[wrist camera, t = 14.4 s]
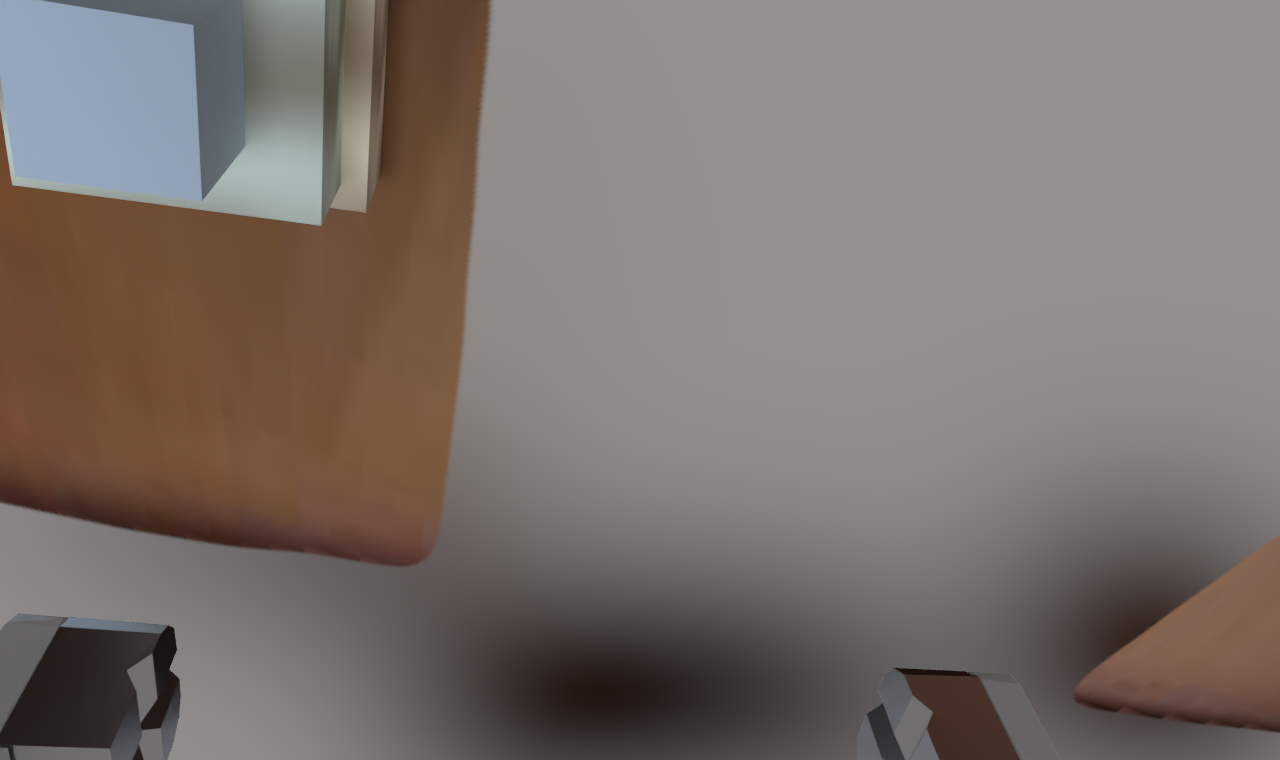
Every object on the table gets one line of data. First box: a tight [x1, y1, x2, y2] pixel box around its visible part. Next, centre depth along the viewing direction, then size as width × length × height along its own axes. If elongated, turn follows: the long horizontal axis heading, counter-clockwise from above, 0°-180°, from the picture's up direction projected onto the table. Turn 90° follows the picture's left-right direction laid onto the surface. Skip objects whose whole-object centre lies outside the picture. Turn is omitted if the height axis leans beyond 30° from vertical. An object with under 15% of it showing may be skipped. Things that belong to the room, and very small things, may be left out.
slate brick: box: [0, 0, 246, 201], centre depth 29 cm, size 5×5×5 cm
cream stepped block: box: [0, 0, 389, 225], centre depth 34 cm, size 12×12×8 cm
